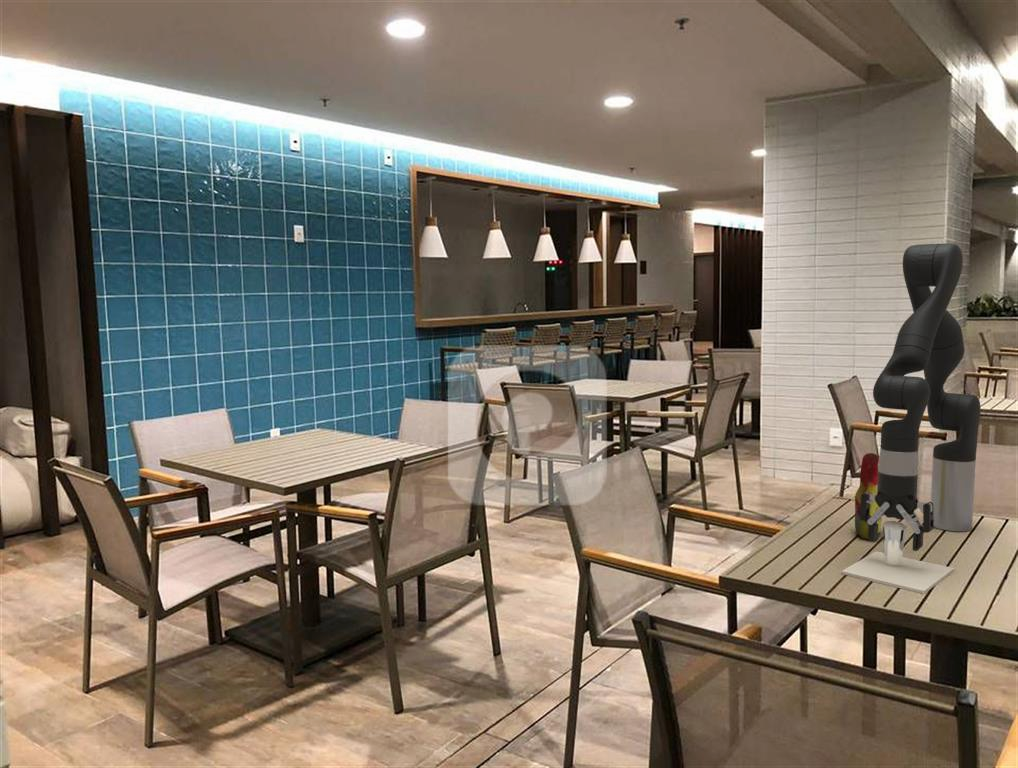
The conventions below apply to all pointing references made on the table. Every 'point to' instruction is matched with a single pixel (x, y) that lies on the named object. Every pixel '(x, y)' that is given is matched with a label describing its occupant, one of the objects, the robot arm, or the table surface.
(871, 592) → the table surface
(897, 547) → the milkshake
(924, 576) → the mat
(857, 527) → the bottle
